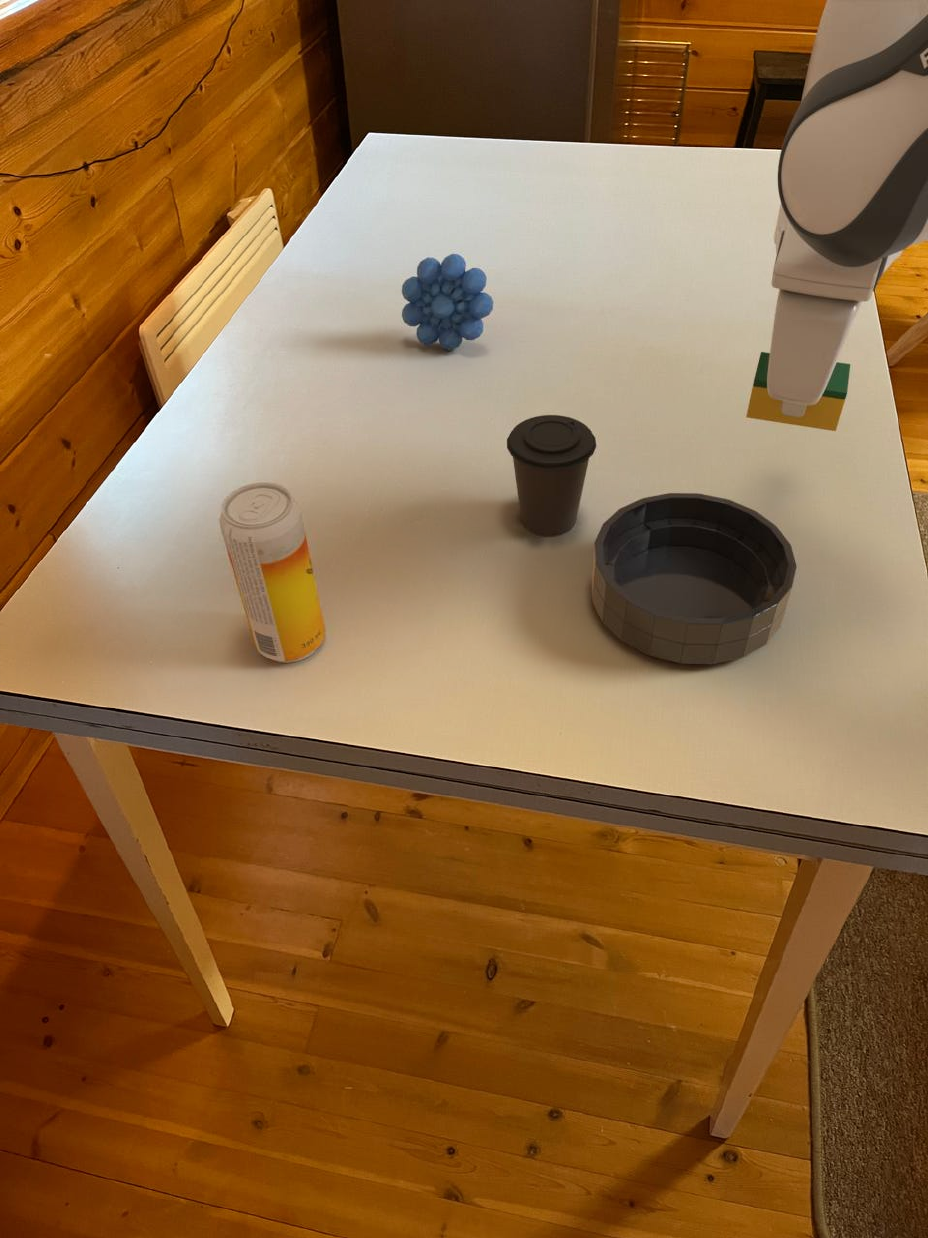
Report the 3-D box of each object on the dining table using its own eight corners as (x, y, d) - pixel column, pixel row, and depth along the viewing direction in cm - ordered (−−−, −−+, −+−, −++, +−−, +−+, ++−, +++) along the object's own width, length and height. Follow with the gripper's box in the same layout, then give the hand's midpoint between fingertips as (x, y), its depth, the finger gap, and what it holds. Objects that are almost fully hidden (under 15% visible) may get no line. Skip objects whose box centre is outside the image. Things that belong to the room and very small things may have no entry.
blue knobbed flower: (505, 339, 114) (504, 242, 106) (487, 366, 110) (485, 268, 101) (418, 325, 118) (410, 231, 109) (397, 352, 113) (387, 255, 105)
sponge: (839, 401, 77) (850, 363, 74) (835, 431, 74) (847, 393, 71) (752, 388, 78) (761, 351, 76) (746, 417, 75) (754, 379, 73)
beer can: (338, 624, 81) (311, 486, 70) (307, 674, 77) (274, 536, 66) (275, 610, 82) (240, 473, 72) (243, 658, 78) (200, 521, 68)
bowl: (765, 540, 86) (777, 493, 83) (797, 673, 75) (813, 626, 71) (588, 537, 88) (592, 491, 84) (594, 668, 76) (598, 621, 72)
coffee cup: (603, 506, 91) (611, 419, 84) (570, 555, 86) (575, 467, 79) (528, 484, 94) (530, 398, 87) (492, 531, 89) (490, 444, 82)
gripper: (819, 161, 72) (782, 325, 82) (769, 275, 60) (733, 453, 69) (905, 171, 70) (857, 337, 80) (873, 290, 58) (820, 471, 67)
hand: (799, 392), depth 75 cm, fingers closed on sponge, 4 cm apart
